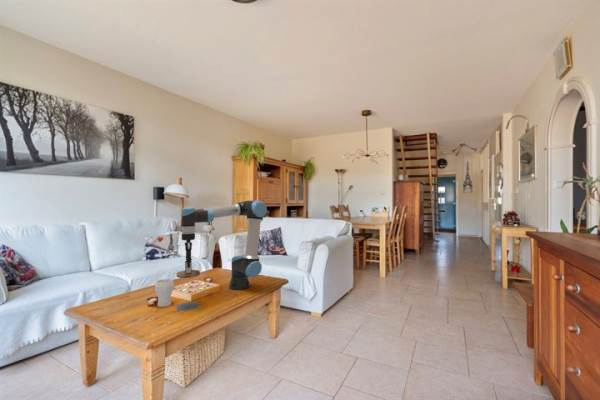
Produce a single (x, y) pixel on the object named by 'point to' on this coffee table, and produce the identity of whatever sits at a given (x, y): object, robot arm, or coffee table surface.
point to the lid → (188, 275)
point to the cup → (164, 291)
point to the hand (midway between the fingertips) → (188, 271)
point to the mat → (187, 306)
